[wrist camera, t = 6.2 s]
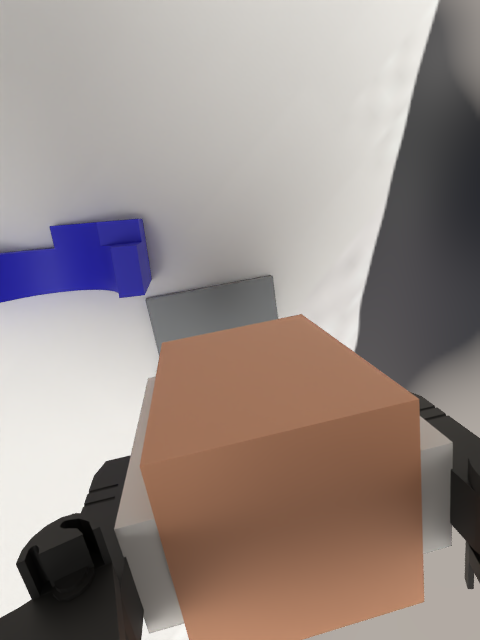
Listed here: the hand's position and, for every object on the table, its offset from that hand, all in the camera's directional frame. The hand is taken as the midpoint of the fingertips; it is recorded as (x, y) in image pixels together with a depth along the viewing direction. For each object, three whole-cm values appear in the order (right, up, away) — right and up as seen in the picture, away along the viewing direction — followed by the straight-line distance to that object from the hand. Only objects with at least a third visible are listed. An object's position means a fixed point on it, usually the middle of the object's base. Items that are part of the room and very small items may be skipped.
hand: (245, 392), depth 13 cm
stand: (-2, 0, +16) cm, 17 cm away
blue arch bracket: (-13, +7, +13) cm, 20 cm away
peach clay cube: (0, 0, 0) cm, 0 cm away
